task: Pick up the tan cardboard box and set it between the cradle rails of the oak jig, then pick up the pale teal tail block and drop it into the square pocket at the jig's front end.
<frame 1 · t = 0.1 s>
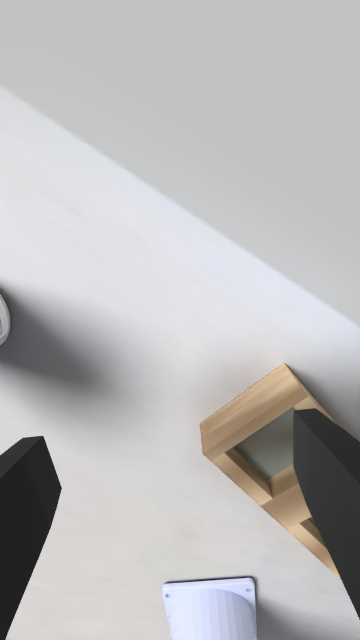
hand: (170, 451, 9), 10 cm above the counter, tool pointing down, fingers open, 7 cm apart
jig: (316, 473, 22), on the counter
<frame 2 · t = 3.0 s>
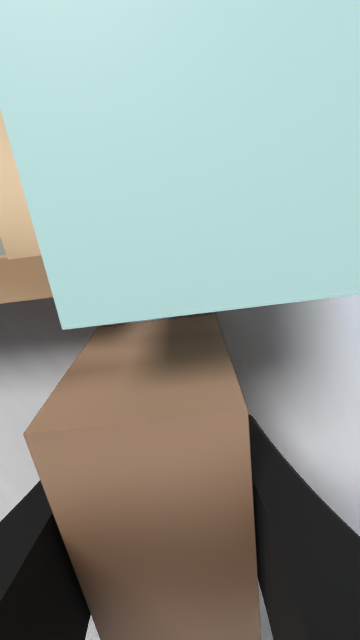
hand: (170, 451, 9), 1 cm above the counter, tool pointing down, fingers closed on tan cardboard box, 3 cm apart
tan cardboard box: (172, 418, 10), on the counter, touching gripper
tail block: (184, 184, 8), on the counter
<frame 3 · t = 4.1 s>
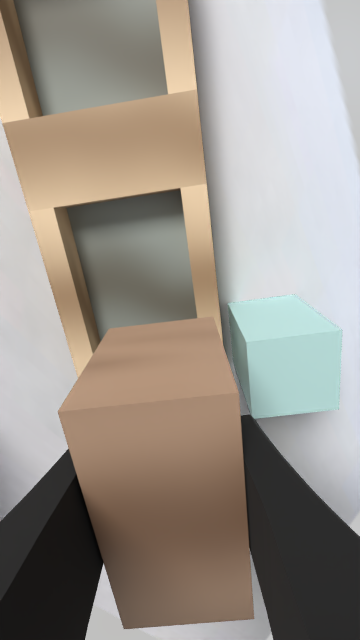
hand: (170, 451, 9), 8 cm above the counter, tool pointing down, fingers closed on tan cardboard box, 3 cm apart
tan cardboard box: (174, 410, 11), point 6 cm above the counter, touching gripper
tail block: (262, 329, 16), on the counter
jig: (129, 205, 14), on the counter
when the fingers open (4 cm above the counter, at t = 5.5 s): tan cardboard box stays where it is, resting on jig.
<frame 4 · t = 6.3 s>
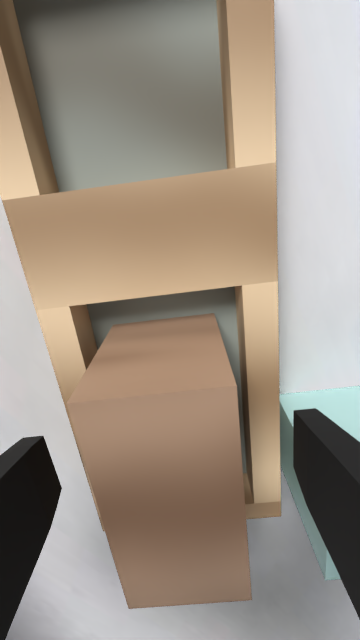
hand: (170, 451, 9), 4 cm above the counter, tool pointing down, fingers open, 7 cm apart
tan cardboard box: (176, 404, 12), point 1 cm above the counter, touching jig
tail block: (316, 423, 13), on the counter
jig: (161, 282, 11), on the counter
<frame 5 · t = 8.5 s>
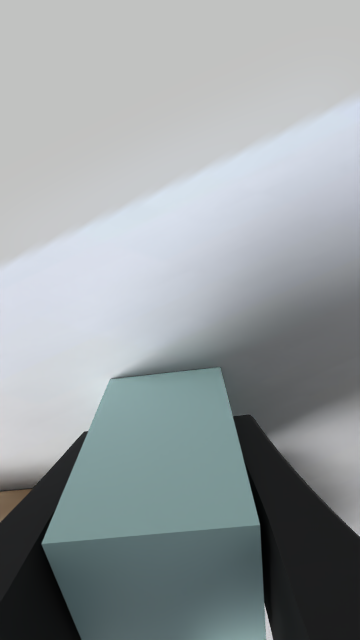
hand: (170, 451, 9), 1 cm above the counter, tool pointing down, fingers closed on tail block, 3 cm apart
tail block: (172, 418, 10), on the counter, touching gripper
jig: (17, 555, 12), on the counter
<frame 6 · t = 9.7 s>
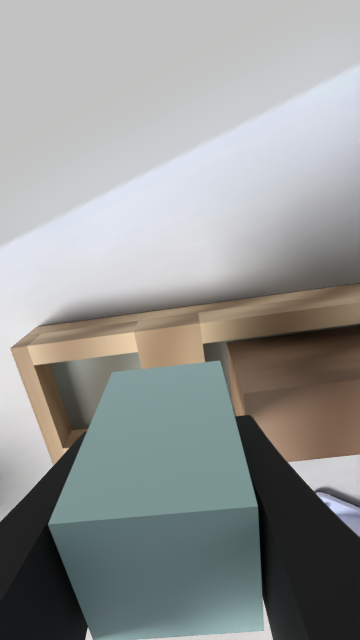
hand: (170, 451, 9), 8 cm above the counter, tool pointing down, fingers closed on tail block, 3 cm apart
tan cardboard box: (296, 364, 16), point 1 cm above the counter, touching jig
tail block: (172, 411, 10), point 7 cm above the counter, touching gripper
jig: (208, 362, 17), on the counter
when the fingers open (4 cm above the counter, at t = 11.2 s): tail block stays where it is, resting on jig.
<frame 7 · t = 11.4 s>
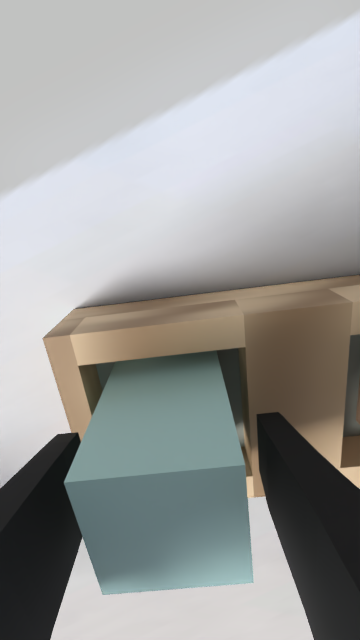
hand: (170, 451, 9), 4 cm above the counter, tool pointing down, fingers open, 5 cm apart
tail block: (172, 397, 11), point 1 cm above the counter, touching jig
jig: (316, 365, 12), on the counter
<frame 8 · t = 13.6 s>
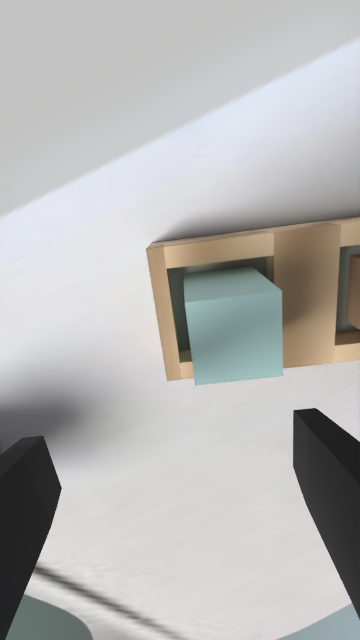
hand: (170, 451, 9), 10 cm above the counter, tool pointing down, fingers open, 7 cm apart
tail block: (219, 302, 16), point 1 cm above the counter, touching jig
jig: (318, 285, 17), on the counter
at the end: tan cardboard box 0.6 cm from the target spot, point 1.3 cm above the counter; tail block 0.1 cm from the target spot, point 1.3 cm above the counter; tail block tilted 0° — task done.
